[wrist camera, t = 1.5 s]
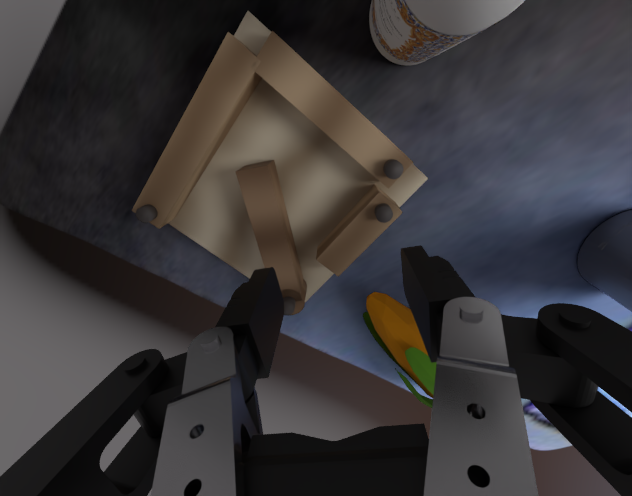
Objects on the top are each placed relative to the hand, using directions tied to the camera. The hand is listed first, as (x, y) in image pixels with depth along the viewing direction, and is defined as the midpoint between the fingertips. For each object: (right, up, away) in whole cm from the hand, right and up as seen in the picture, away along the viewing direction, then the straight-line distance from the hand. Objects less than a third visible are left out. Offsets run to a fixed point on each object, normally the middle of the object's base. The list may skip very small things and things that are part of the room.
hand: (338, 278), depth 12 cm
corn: (+11, -9, +26) cm, 30 cm away
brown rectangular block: (-5, +2, +18) cm, 19 cm away
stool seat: (-5, +7, +18) cm, 20 cm away
